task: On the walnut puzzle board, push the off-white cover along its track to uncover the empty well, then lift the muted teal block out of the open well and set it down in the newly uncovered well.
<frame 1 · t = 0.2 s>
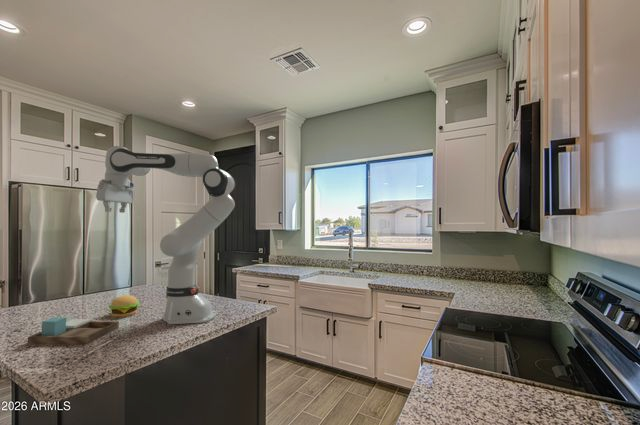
hand: (115, 212, 132), 47 cm above the counter, tool pointing down, fingers open, 8 cm apart
hamburger: (124, 314, 134), on the counter
cover: (71, 320, 110), point 5 cm above the counter, slide at 0.0 cm
block: (53, 339, 103), point 1 cm above the counter, touching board
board: (76, 338, 107), on the counter
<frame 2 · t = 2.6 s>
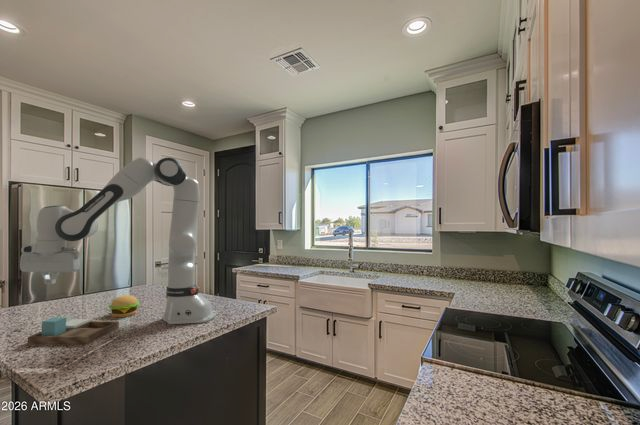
hand: (49, 283, 111), 19 cm above the counter, tool pointing down, fingers closed
nothing on the counter moved.
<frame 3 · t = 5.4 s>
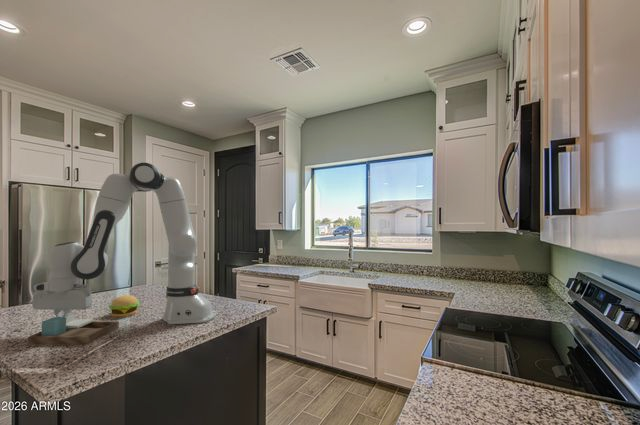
hand: (62, 320, 111), 5 cm above the counter, tool pointing down, fingers closed
cover: (75, 320, 110), point 5 cm above the counter, slide at 1.3 cm, touching gripper
everything else where it was.
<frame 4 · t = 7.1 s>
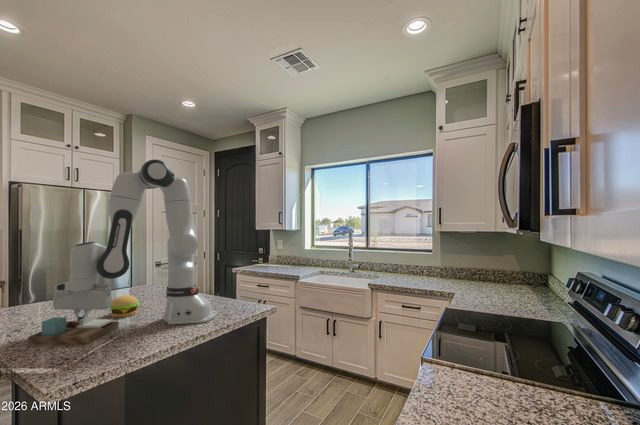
hand: (82, 320, 111), 5 cm above the counter, tool pointing down, fingers closed
cover: (95, 321, 111), point 5 cm above the counter, slide at 9.0 cm, touching gripper
everything else where it was.
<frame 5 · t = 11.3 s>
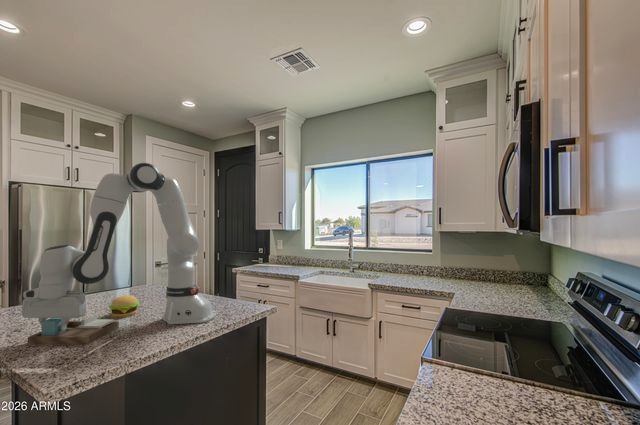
hand: (54, 329, 103), 4 cm above the counter, tool pointing down, fingers closed on block, 4 cm apart
cover: (97, 321, 111), point 5 cm above the counter, slide at 9.5 cm
block: (53, 339, 103), point 1 cm above the counter, touching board, gripper
everything else where it was.
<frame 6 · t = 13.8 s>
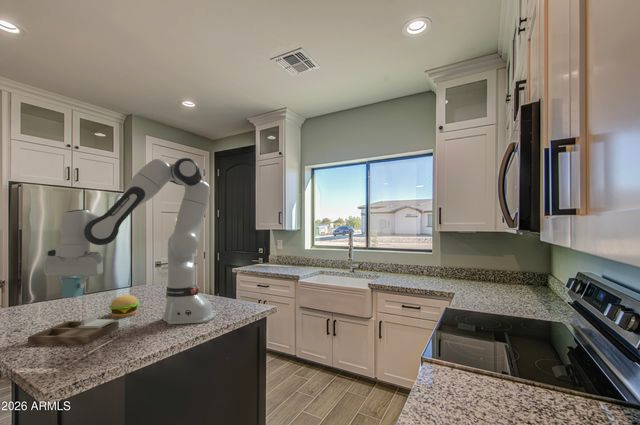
hand: (73, 287, 111), 18 cm above the counter, tool pointing down, fingers closed on block, 4 cm apart
block: (72, 296, 111), point 14 cm above the counter, touching gripper
everything else where it was.
when the fingers open (5 cm above the counter, at t = 16.3 s): block stays where it is, resting on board.
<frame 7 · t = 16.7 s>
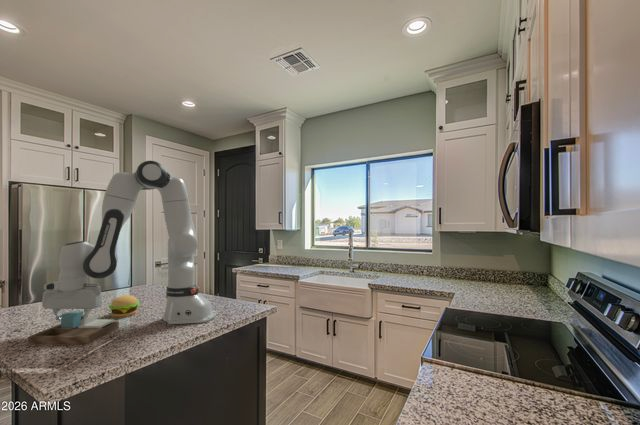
hand: (72, 320, 110), 5 cm above the counter, tool pointing down, fingers open, 8 cm apart
block: (71, 331, 110), point 1 cm above the counter, touching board
everything else where it was.
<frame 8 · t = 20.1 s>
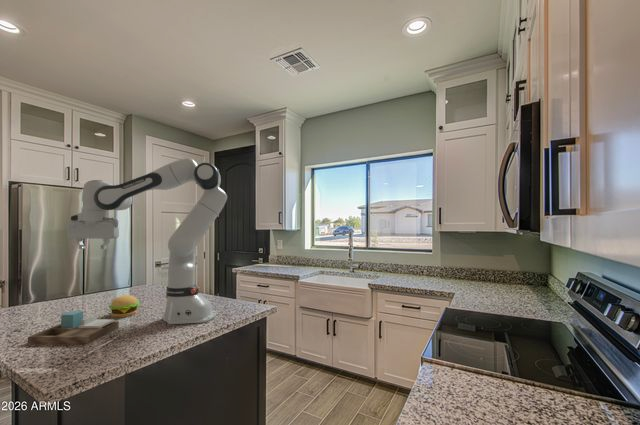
hand: (92, 249, 126), 31 cm above the counter, tool pointing down, fingers open, 8 cm apart
nothing on the counter moved.
at the end: cover slide at 9.5 cm; block 0.1 cm from the target spot on the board, point 1.0 cm above the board's base; the gripper is holding nothing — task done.
